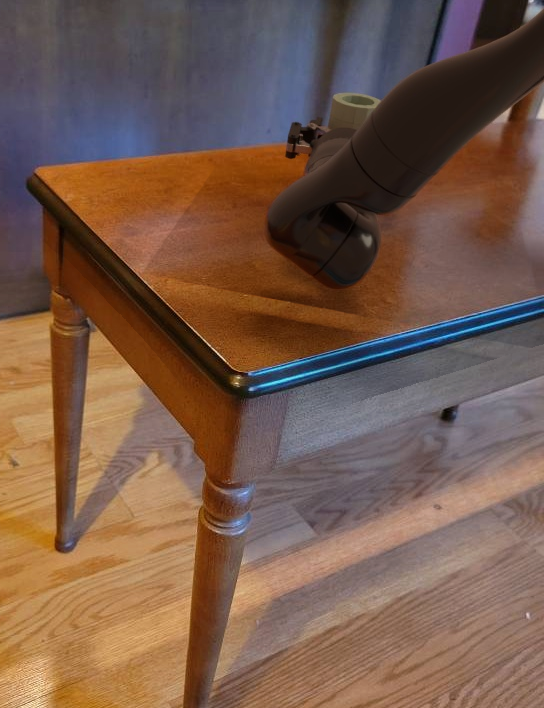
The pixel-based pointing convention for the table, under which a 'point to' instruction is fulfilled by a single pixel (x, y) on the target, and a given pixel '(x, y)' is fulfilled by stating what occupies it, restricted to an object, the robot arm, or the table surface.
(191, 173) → the table surface
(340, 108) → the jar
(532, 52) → the robot arm
